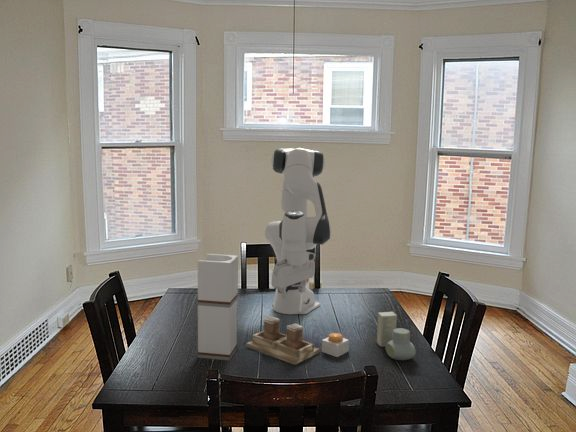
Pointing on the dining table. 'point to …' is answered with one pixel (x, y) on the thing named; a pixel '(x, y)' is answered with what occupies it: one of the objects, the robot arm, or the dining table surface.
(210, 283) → the tall open-top box
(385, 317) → the skincare box
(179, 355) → the dining table surface
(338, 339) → the button
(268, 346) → the wooden compartment tray
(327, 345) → the button housing
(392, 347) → the air freshener
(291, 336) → the block
